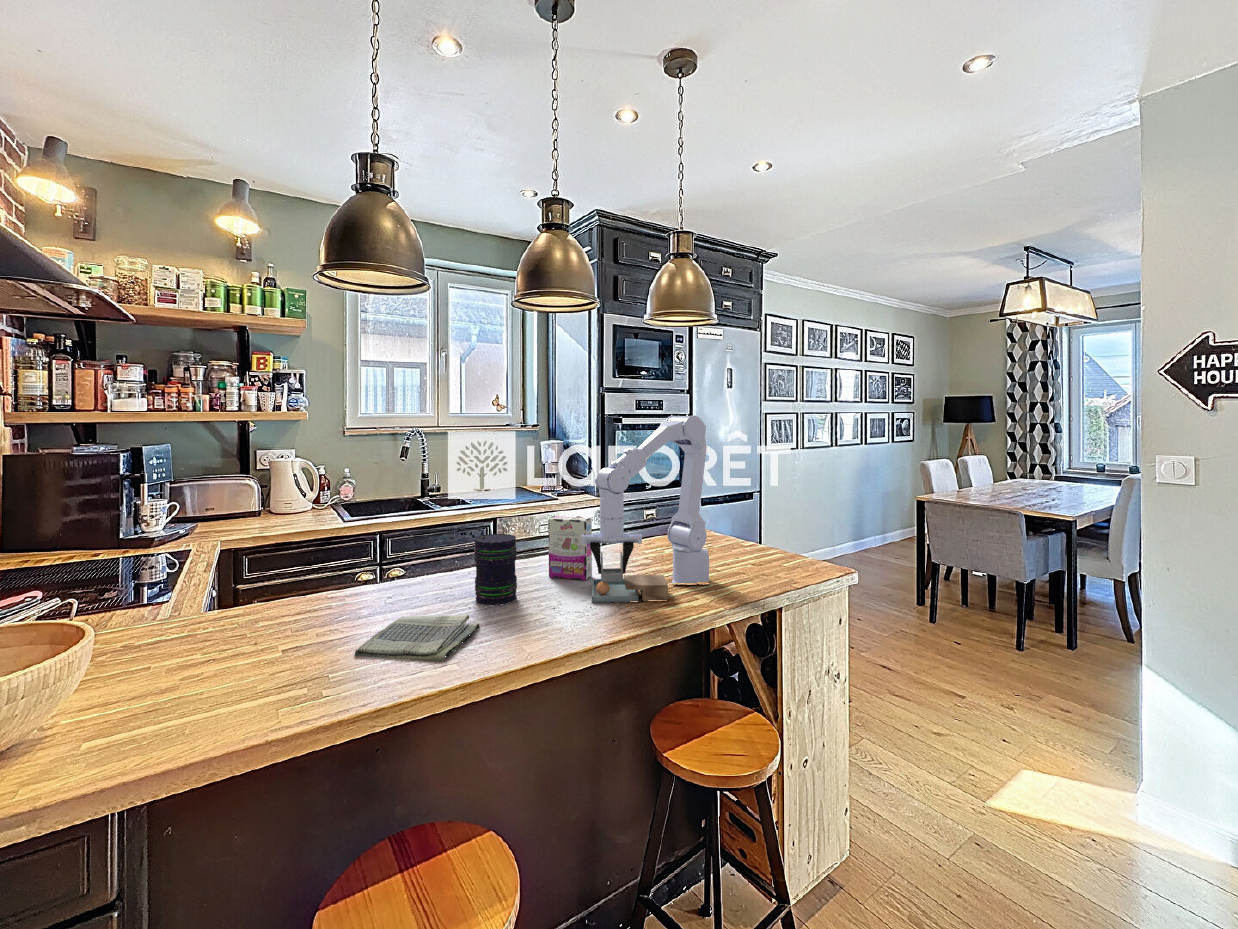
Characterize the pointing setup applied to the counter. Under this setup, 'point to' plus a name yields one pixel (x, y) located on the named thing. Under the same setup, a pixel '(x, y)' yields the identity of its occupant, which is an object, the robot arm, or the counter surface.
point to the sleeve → (612, 571)
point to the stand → (648, 586)
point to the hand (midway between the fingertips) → (611, 572)
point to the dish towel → (419, 638)
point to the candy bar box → (569, 548)
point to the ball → (602, 588)
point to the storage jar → (495, 569)
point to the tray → (613, 593)
